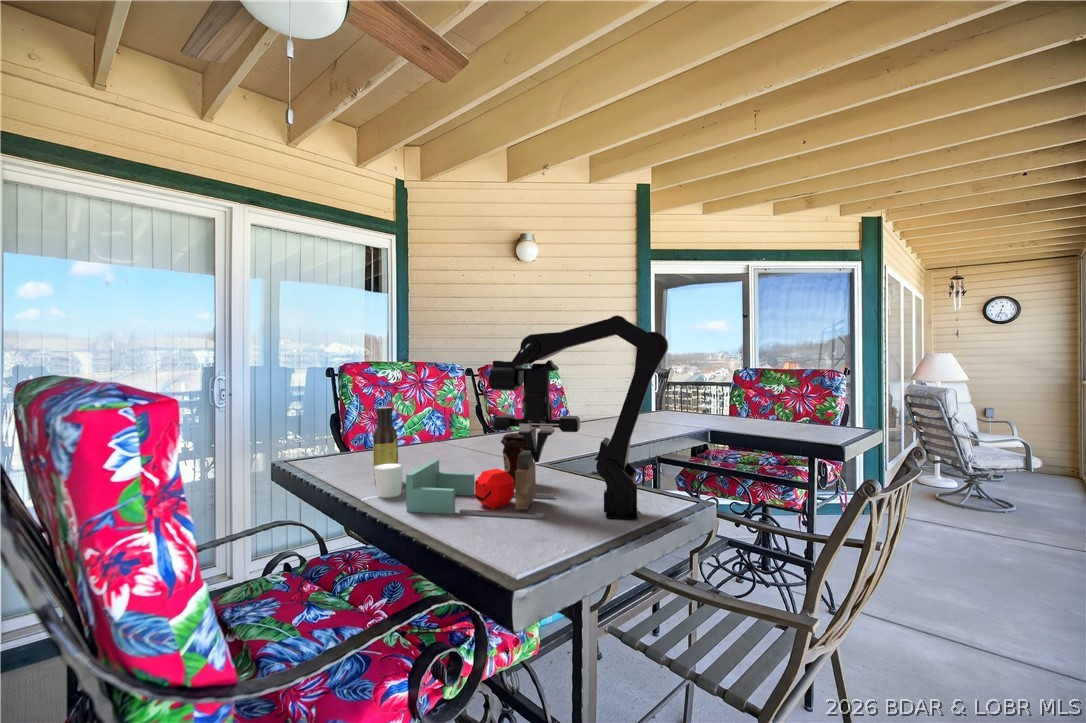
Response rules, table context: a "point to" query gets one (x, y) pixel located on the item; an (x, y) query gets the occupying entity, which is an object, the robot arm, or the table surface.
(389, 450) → the sauce bottle
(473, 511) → the track
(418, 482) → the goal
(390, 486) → the white cup
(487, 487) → the ball
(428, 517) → the table surface
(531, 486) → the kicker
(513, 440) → the coffee cup
